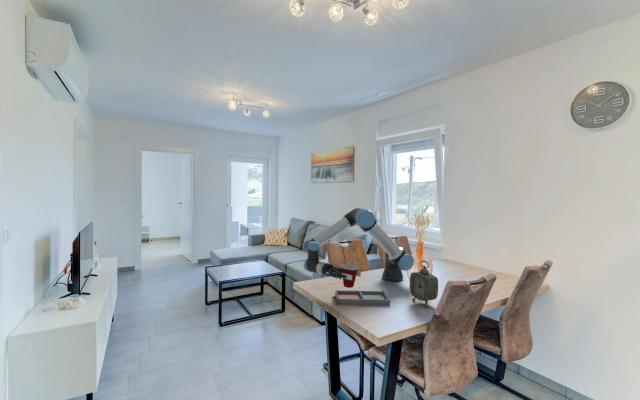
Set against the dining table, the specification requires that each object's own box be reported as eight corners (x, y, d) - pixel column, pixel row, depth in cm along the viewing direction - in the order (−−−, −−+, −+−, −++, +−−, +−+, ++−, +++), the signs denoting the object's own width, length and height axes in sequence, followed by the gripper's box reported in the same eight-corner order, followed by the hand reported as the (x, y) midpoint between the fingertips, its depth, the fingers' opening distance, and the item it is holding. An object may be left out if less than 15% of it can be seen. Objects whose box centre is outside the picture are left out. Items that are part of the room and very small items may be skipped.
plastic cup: (357, 290, 172) (358, 268, 172) (338, 288, 174) (339, 267, 174) (358, 284, 183) (359, 264, 182) (341, 282, 185) (341, 263, 185)
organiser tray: (383, 295, 187) (384, 291, 187) (390, 305, 172) (390, 300, 171) (335, 295, 186) (335, 290, 186) (337, 304, 171) (337, 299, 171)
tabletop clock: (409, 300, 180) (410, 258, 179) (421, 298, 183) (423, 257, 182) (425, 309, 166) (427, 264, 166) (439, 307, 170) (440, 263, 169)
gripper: (335, 271, 198) (365, 278, 184) (313, 278, 181) (345, 286, 167) (335, 260, 198) (365, 266, 184) (314, 266, 181) (345, 273, 167)
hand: (356, 276), depth 175 cm, fingers closed on plastic cup, 9 cm apart
